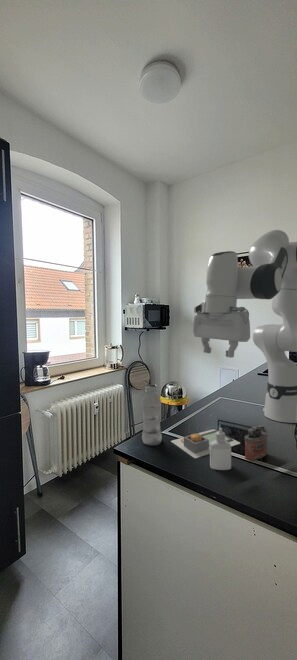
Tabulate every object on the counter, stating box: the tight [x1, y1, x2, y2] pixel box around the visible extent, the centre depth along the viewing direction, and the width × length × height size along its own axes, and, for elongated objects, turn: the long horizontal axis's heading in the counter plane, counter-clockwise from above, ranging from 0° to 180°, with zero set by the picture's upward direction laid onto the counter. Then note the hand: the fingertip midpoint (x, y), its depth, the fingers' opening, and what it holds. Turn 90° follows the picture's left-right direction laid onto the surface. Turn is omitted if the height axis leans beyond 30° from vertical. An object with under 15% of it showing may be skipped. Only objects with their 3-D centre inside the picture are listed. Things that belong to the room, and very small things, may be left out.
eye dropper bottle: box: [209, 427, 232, 471], centre depth 75 cm, size 4×6×12 cm
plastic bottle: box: [140, 384, 163, 447], centre depth 91 cm, size 6×7×20 cm
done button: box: [190, 433, 202, 442], centre depth 86 cm, size 3×3×2 cm
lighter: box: [244, 424, 268, 461], centre depth 81 cm, size 8×3×10 cm, turn 117°
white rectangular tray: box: [170, 429, 241, 459], centre depth 90 cm, size 19×13×4 cm
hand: (217, 355), depth 79 cm, fingers open, 8 cm apart
